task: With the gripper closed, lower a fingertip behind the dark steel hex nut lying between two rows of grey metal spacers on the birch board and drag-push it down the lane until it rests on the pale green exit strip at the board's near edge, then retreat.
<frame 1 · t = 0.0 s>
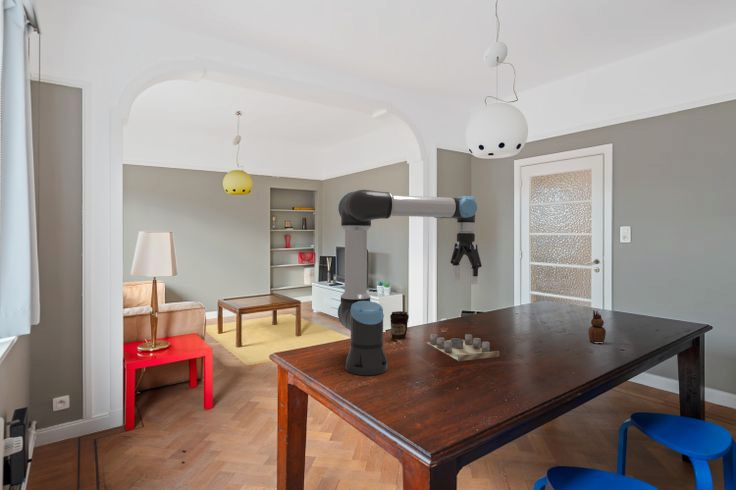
hand: (464, 282, 173), 28 cm above the table, fingers open, 13 cm apart
wooden figurine: (596, 343, 182), on the table
nut: (456, 347, 168), point 1 cm above the table, touching board
coffee cup: (399, 341, 183), on the table
board: (460, 352, 166), on the table
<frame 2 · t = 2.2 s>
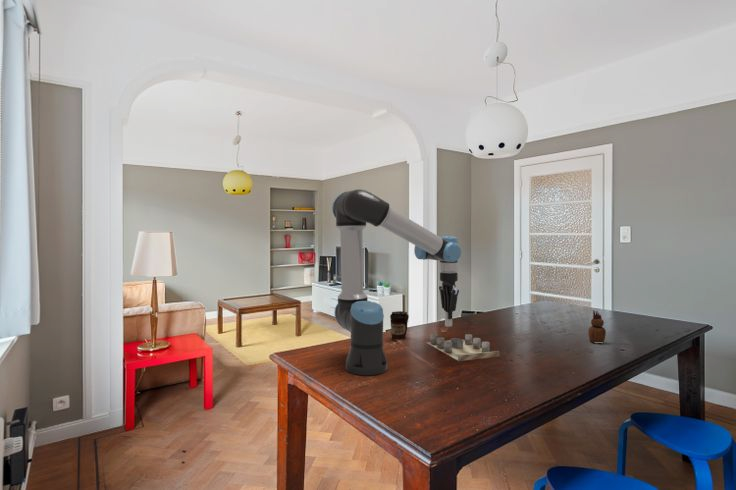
hand: (448, 326, 175), 9 cm above the table, fingers closed
nothing on the table moved.
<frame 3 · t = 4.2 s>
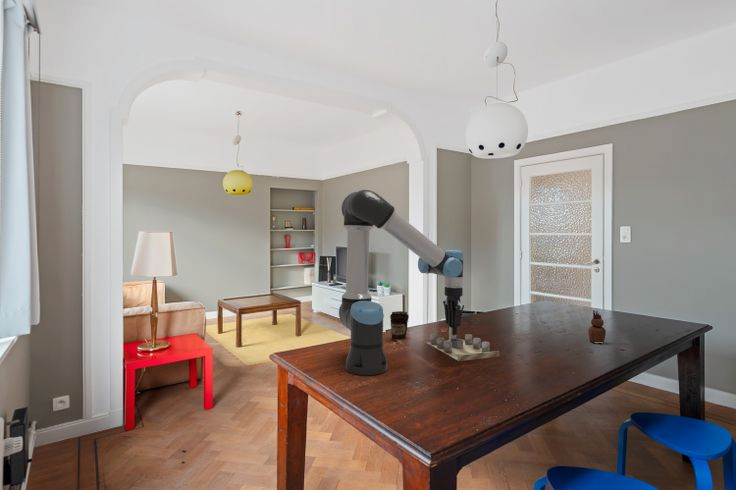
hand: (452, 341, 171), 3 cm above the table, fingers closed
nut: (456, 347, 168), point 2 cm above the table, touching gripper
everything else where it was.
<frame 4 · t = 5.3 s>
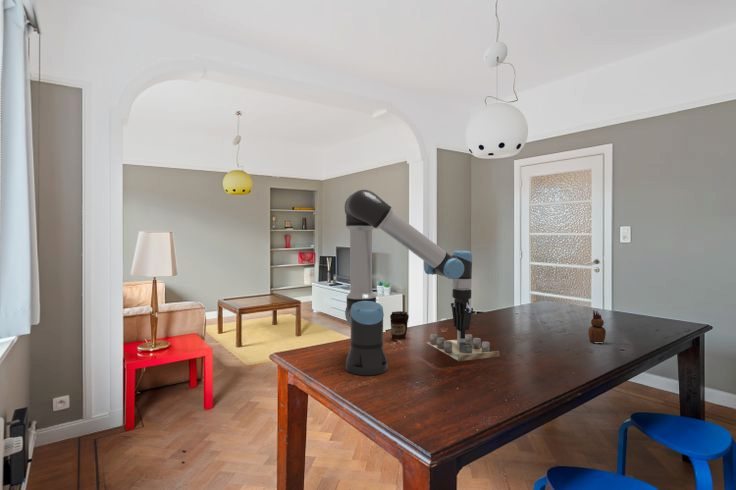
hand: (460, 345, 165), 3 cm above the table, fingers closed
nut: (465, 351, 162), point 2 cm above the table, touching gripper
everything else where it was.
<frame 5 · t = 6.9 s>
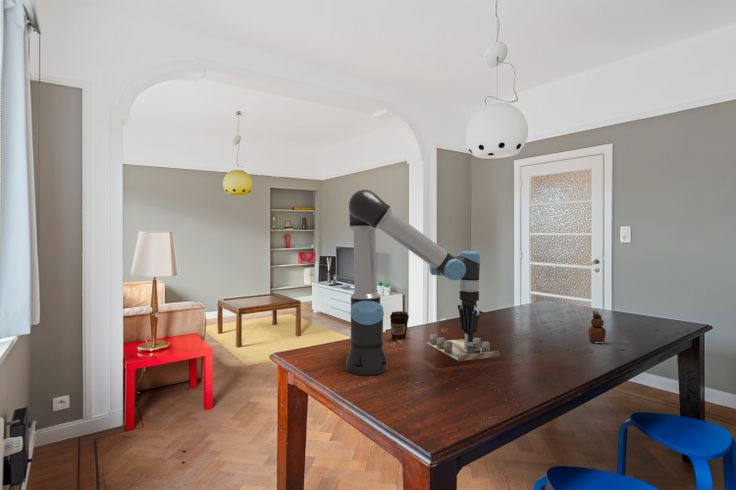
hand: (468, 349, 160), 3 cm above the table, fingers closed
nut: (473, 355, 158), point 2 cm above the table, touching board, gripper
everything else where it was.
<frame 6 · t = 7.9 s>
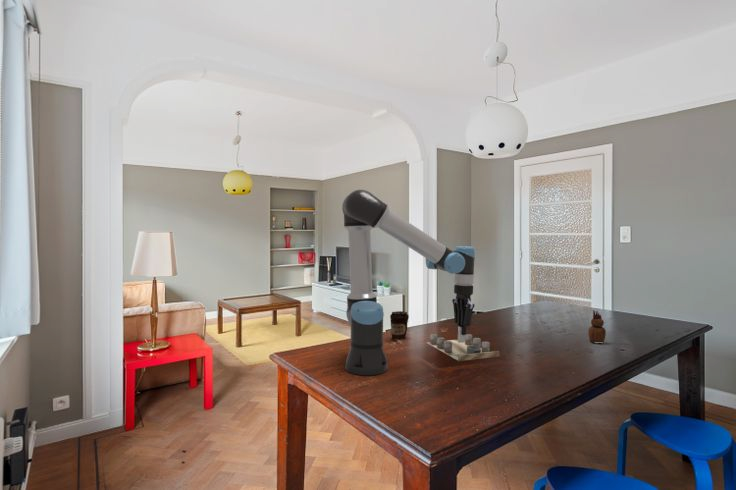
hand: (461, 342, 164), 5 cm above the table, fingers closed
nut: (473, 355, 158), point 1 cm above the table, touching board
everything else where it was.
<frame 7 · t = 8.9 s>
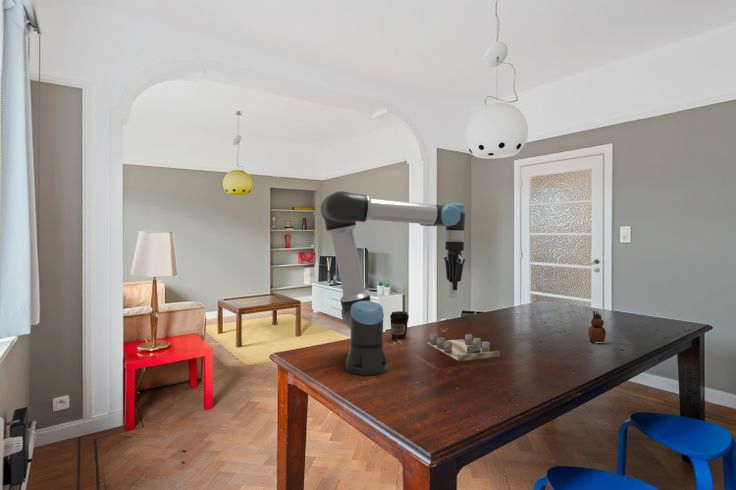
hand: (453, 297, 167), 22 cm above the table, fingers closed
nothing on the table moved.
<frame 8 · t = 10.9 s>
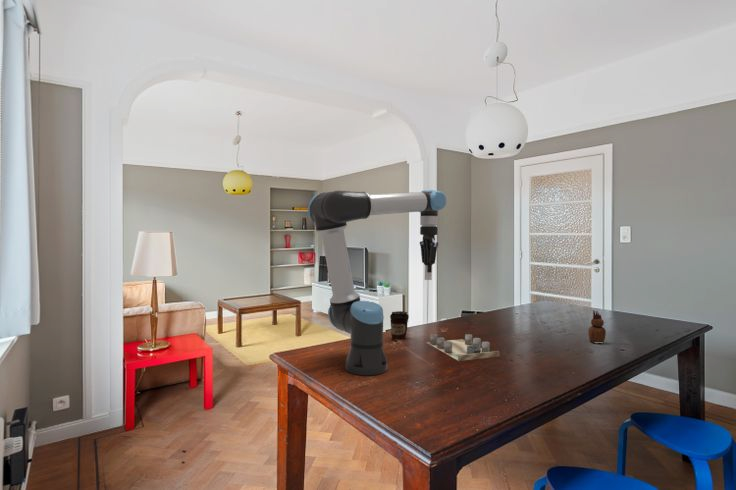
hand: (428, 279, 177), 28 cm above the table, fingers closed
nothing on the table moved.
at the end: nut inside the target area (0.6 cm from its centre), point 1.5 cm above the table; nut moved 11.5 cm from its start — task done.
